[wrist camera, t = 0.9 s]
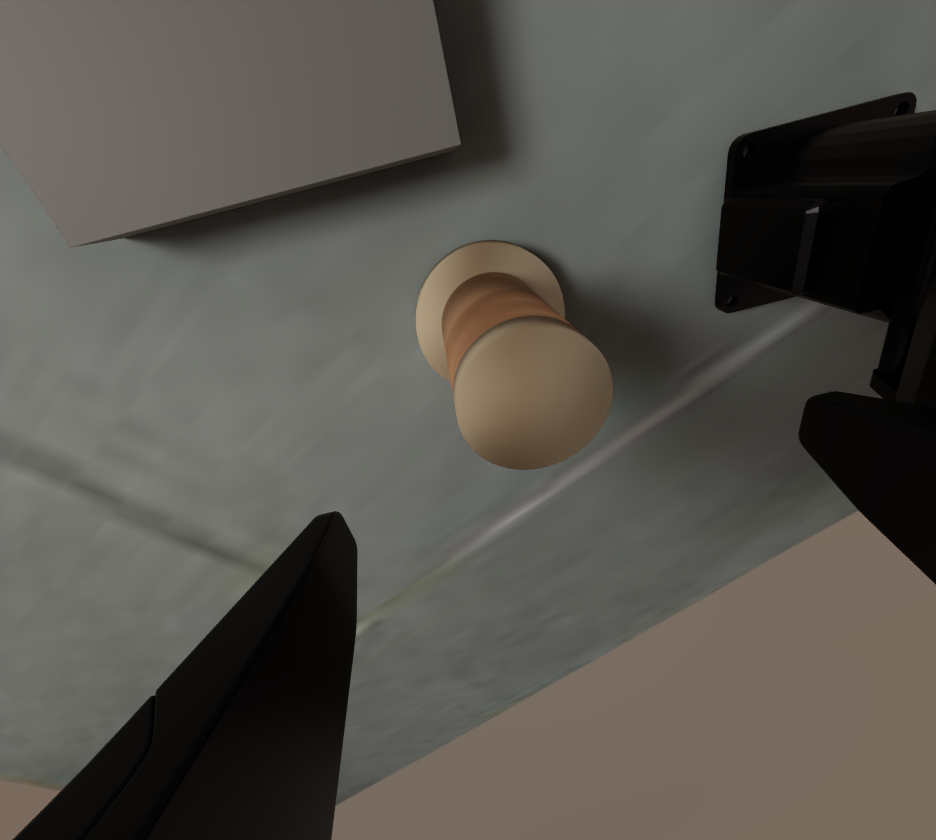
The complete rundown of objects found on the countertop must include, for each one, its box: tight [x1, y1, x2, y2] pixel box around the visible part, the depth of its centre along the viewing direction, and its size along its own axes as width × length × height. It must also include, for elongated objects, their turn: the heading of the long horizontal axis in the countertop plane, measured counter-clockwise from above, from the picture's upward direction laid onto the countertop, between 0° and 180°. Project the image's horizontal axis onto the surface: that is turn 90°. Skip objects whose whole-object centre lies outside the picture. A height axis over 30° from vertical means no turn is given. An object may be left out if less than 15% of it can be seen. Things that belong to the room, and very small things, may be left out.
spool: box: [416, 240, 613, 470], centre depth 14 cm, size 6×6×8 cm
